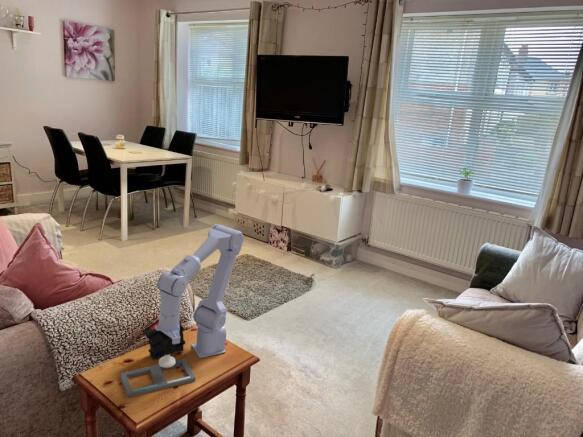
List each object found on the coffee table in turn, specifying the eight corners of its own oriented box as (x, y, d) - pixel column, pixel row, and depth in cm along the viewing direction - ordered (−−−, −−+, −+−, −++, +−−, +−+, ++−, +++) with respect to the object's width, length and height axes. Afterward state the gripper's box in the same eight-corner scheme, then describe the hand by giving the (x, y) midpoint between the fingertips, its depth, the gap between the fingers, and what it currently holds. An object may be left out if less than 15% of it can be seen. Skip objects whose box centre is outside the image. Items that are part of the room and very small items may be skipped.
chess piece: (158, 358, 133) (158, 330, 130) (174, 356, 135) (175, 328, 132) (159, 368, 129) (160, 339, 126) (176, 366, 130) (177, 337, 127)
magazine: (192, 343, 149) (178, 313, 140) (159, 369, 142) (142, 339, 134) (187, 338, 151) (172, 308, 143) (154, 363, 145) (137, 333, 136)
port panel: (184, 362, 141) (185, 358, 141) (195, 380, 133) (195, 377, 133) (120, 376, 130) (120, 372, 130) (127, 397, 123) (127, 394, 122)
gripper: (149, 301, 130) (147, 341, 134) (163, 326, 119) (160, 368, 123) (172, 298, 134) (170, 336, 138) (188, 322, 122) (185, 363, 126)
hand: (167, 351), depth 130 cm, fingers closed on chess piece
